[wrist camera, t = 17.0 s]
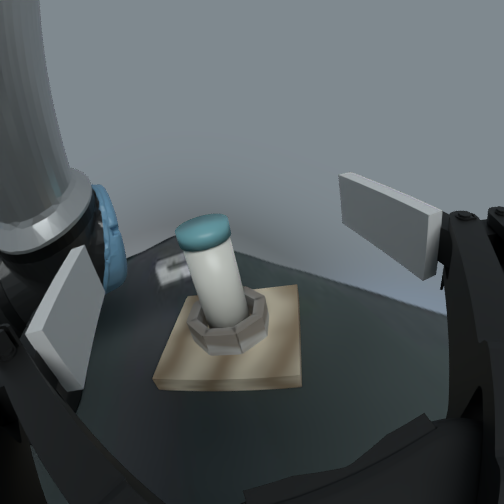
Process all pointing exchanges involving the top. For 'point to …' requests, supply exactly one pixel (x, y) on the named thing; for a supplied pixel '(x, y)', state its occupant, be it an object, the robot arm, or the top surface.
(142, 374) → the top surface
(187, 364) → the collar base
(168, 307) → the top surface
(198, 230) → the canister
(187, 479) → the top surface
